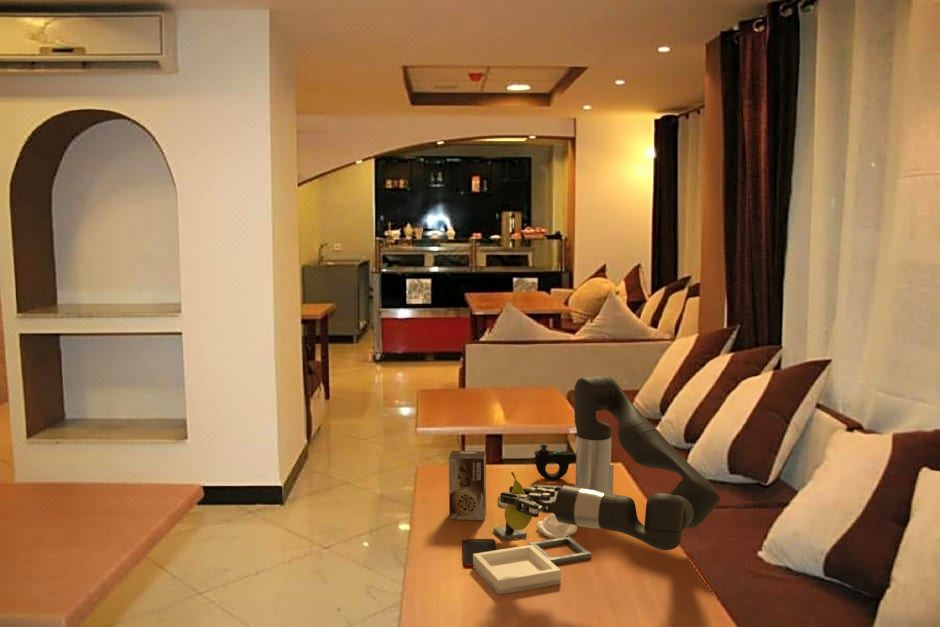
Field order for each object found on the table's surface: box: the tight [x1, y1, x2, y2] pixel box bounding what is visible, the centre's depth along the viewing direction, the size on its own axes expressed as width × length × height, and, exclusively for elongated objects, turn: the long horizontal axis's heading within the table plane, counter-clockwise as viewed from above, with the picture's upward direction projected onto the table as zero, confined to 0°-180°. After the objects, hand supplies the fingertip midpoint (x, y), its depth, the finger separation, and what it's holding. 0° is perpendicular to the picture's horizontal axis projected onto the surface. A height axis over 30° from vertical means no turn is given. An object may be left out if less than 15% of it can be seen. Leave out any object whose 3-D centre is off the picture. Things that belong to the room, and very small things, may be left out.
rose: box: [536, 513, 578, 539], centre depth 200 cm, size 10×4×10 cm
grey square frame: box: [528, 536, 592, 566], centre depth 188 cm, size 10×10×1 cm
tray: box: [473, 544, 562, 596], centre depth 176 cm, size 14×14×3 cm
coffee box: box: [448, 450, 487, 521], centre depth 210 cm, size 9×6×16 cm
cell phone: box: [461, 538, 498, 569], centre depth 187 cm, size 8×15×1 cm, turn 1°
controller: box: [533, 444, 576, 481], centre depth 239 cm, size 4×12×10 cm, turn 89°
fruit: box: [504, 471, 533, 530], centre depth 174 cm, size 6×6×12 cm
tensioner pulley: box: [493, 495, 528, 541], centre depth 198 cm, size 6×6×9 cm
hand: (506, 493), depth 175 cm, fingers closed on fruit, 3 cm apart
